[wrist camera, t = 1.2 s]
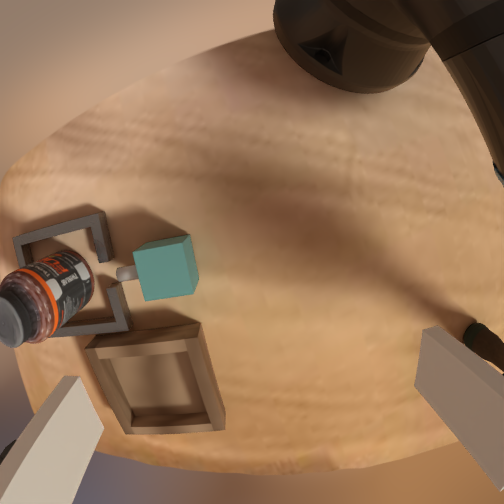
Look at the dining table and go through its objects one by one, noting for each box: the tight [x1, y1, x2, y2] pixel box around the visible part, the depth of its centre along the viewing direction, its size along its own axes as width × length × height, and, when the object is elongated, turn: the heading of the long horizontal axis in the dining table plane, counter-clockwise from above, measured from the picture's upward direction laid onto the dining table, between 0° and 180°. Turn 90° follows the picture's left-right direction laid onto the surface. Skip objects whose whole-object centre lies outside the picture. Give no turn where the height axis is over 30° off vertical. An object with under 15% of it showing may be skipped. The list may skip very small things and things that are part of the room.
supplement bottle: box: [0, 251, 94, 348], centre depth 21 cm, size 6×6×11 cm
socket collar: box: [13, 212, 133, 338], centre depth 26 cm, size 11×11×2 cm
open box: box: [85, 323, 226, 434], centre depth 28 cm, size 11×11×3 cm
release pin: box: [116, 234, 199, 301], centre depth 25 cm, size 6×4×4 cm, turn 99°
